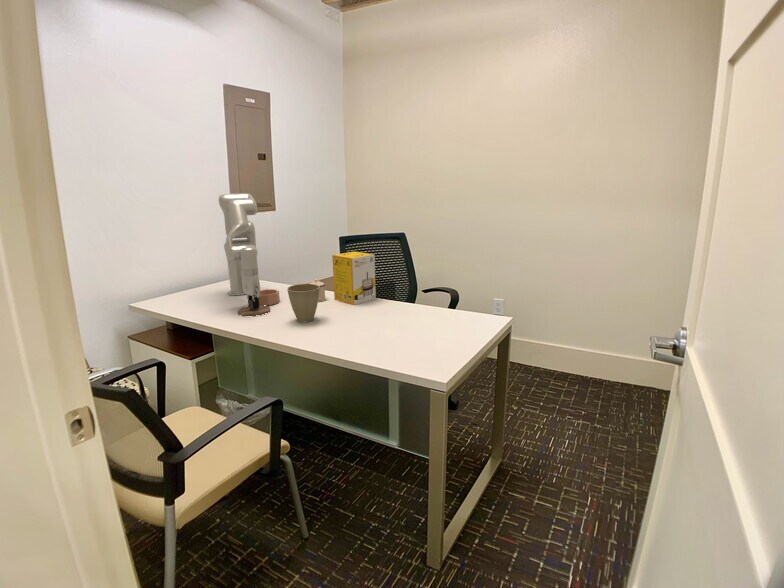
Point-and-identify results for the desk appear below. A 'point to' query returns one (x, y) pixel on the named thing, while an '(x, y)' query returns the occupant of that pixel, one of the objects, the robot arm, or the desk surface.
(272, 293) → the bowl
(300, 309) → the plant pot
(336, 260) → the packaging box
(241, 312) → the lid
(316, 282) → the teacup with lid
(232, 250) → the robot arm
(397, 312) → the desk surface
